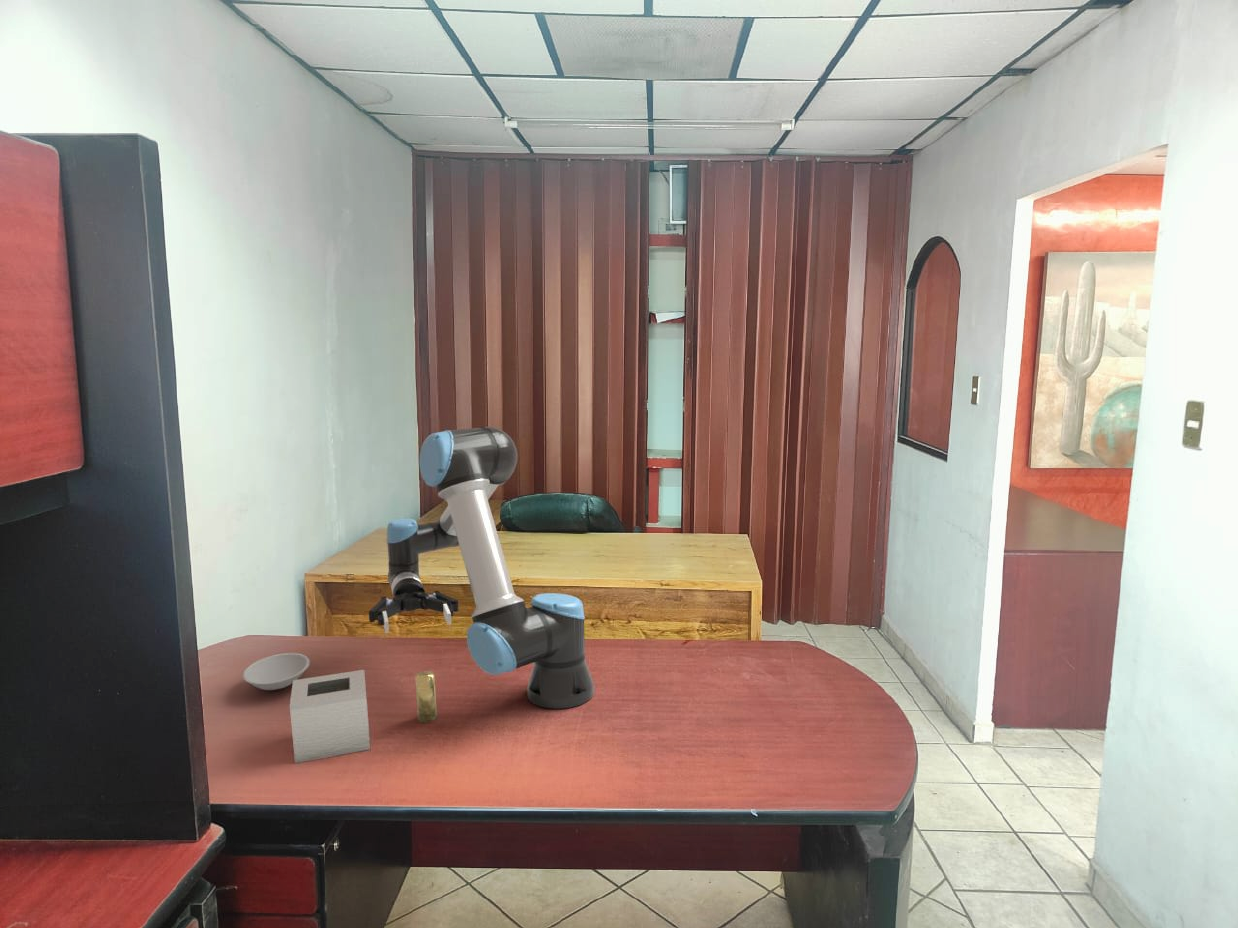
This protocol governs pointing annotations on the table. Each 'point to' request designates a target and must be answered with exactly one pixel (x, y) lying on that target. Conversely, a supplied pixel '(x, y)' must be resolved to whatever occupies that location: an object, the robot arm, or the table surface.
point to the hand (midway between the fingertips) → (418, 623)
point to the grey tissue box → (329, 716)
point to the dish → (276, 670)
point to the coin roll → (426, 696)
